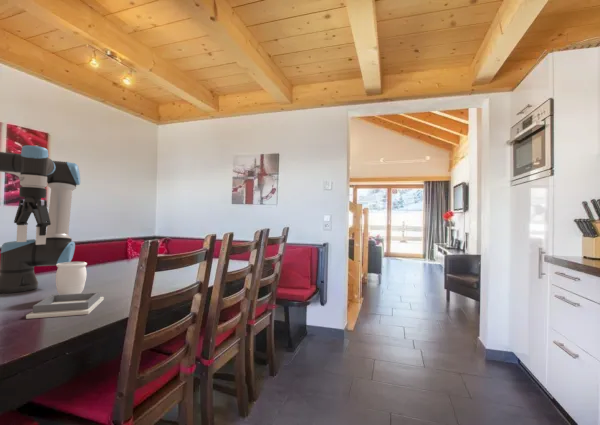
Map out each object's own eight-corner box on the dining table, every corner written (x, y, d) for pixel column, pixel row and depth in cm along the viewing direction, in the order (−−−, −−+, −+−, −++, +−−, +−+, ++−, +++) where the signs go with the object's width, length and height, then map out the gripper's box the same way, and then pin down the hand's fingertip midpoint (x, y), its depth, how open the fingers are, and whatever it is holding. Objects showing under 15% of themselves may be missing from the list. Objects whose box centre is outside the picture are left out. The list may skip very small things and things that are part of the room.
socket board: (51, 302, 118) (52, 293, 118) (103, 299, 125) (104, 290, 125) (26, 318, 100) (26, 307, 100) (88, 314, 106) (88, 303, 106)
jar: (48, 301, 120) (50, 265, 120) (62, 294, 130) (64, 261, 130) (78, 300, 122) (80, 264, 123) (89, 294, 133) (91, 261, 133)
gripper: (3, 186, 112) (1, 241, 111) (39, 185, 101) (36, 246, 101) (28, 188, 118) (26, 240, 118) (63, 187, 108) (61, 244, 108)
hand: (30, 243), depth 110 cm, fingers open, 13 cm apart
